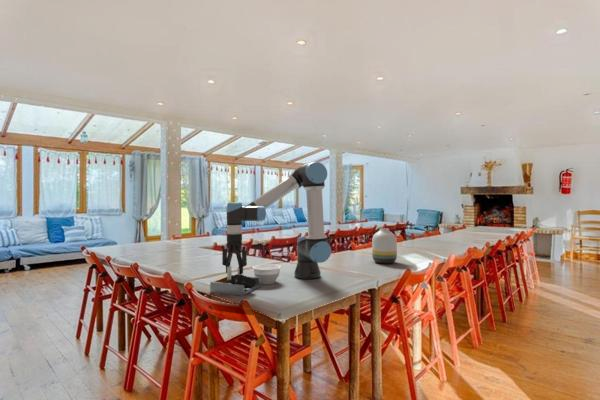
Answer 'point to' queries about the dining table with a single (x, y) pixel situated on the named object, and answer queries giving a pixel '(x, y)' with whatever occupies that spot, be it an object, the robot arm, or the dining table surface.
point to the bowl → (267, 272)
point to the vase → (384, 246)
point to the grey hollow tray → (231, 287)
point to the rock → (243, 281)
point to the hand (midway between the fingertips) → (234, 279)
